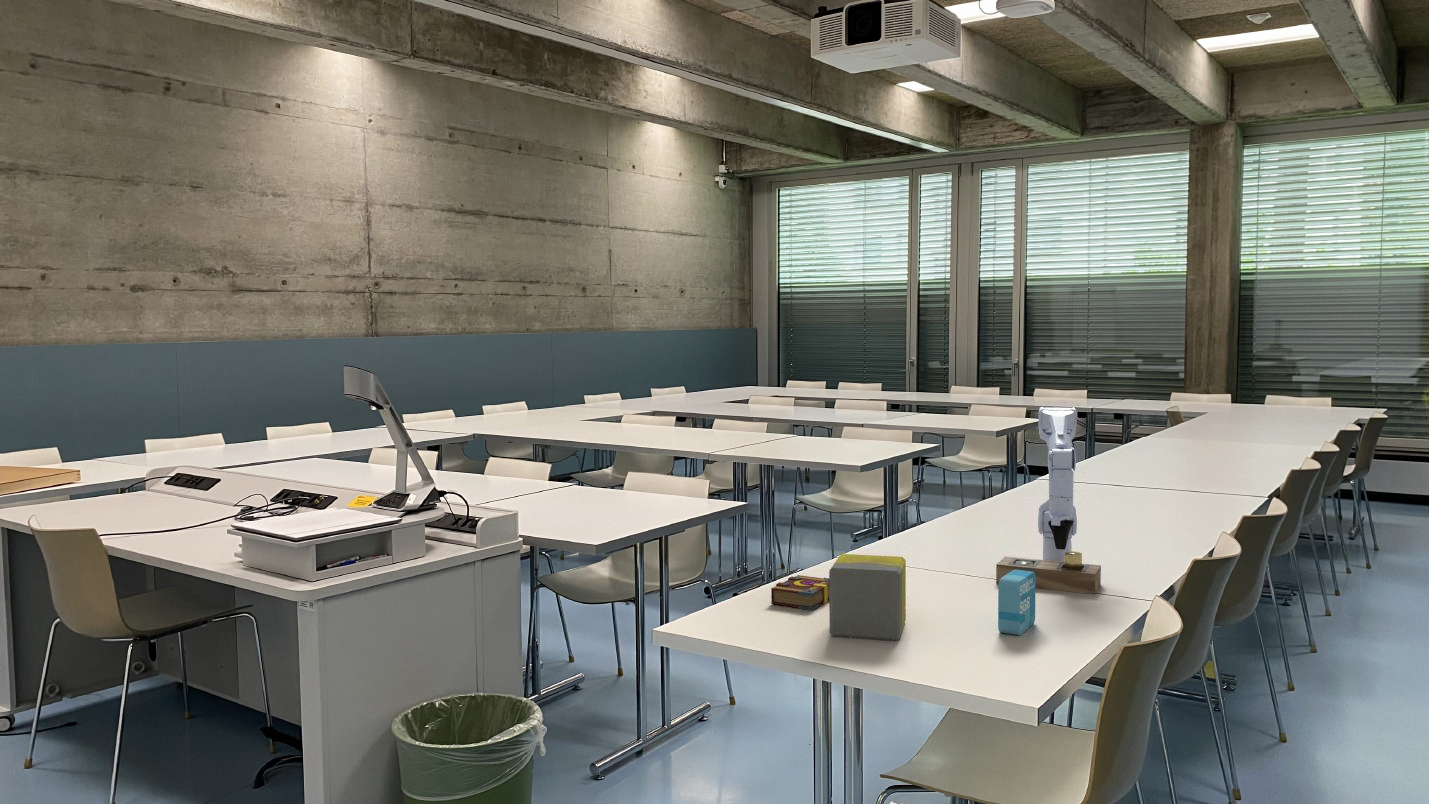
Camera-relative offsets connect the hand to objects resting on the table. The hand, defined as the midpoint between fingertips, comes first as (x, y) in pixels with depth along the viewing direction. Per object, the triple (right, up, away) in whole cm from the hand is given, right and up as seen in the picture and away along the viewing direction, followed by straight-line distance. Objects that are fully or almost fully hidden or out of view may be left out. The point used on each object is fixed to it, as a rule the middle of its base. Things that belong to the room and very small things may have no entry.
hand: (1060, 548), depth 256 cm
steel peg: (-8, -9, +5) cm, 13 cm away
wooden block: (-3, -9, +2) cm, 10 cm away
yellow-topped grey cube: (-53, -13, -30) cm, 62 cm away
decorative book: (-66, -12, -9) cm, 67 cm away
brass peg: (+3, -6, -1) cm, 7 cm away
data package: (-22, -13, -35) cm, 43 cm away
